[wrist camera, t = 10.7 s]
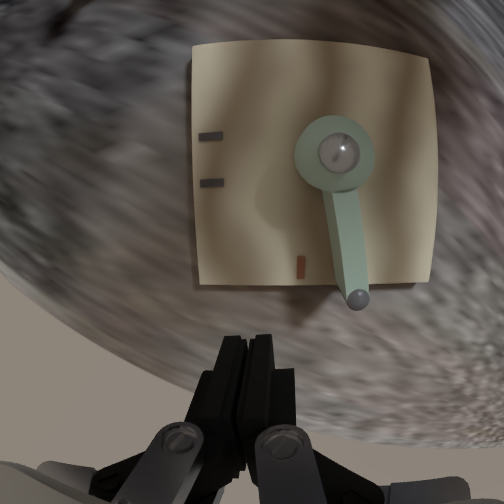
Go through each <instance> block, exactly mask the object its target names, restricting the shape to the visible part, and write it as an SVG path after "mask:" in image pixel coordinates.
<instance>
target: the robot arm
mask: <svg viewBox="0 0 504 504" xmlns="http://www.w3.org/2000/svg"><path fill="white" fill-rule="evenodd" d="M246 463H247V465H248V469H249V473H250V476H251V480H252V482H253V483H254V484H255V485H256V486H257V487H258V490H259V499H260V504H504V502H503V501H500V500H496V499H483V498H482V499H471V496H470V488H469V485H468V483H467V482H466V481H465V480H464V479H463V478H460V477H457V476H456V477H445V478H438V479H430V480H422V481H412V482H402V483H401V482H400V483H391V484H390V486H377V485H376V484H375V483H373V482H371V481H369V480H367V479H365V478H363V477H361V476H359V475H358V474H356V473H354V472H352V471H350V470H348V469H347V468H345V467H343V466H341V465H339V464H338V463H336V462H334V461H332V460H331V459H329V458H327V457H326V456H324V455H322V454H321V453H319V452H317V451H316V450H314V449H312V445H311V442H310V439H309V436H308V435H307V433H306V432H305V431H304V430H303V429H301V428H299V427H297V426H296V403H295V377H294V368H289V369H275V363H274V353H273V342H272V335H271V334H262V335H256V337H255V339H250V343H249V348H248V346H247V341H246V339H241V336H240V335H239V336H224V339H223V342H222V345H221V348H220V351H219V354H218V357H217V360H216V363H215V366H214V369H213V371H210V370H205V371H203V373H202V375H201V377H200V380H199V383H198V385H197V388H196V391H195V393H194V396H193V399H192V401H191V404H190V407H189V410H188V412H187V415H186V418H185V420H184V422H175V423H171V424H169V425H167V426H165V427H163V428H162V429H161V430H160V431H159V432H158V433H157V434H156V436H155V437H154V439H153V440H152V442H151V444H150V445H149V446H148V448H147V450H146V451H144V452H142V453H139V454H137V455H135V456H132V457H130V458H127V459H125V460H123V461H120V462H118V463H115V464H112V465H110V466H107V467H105V468H103V469H101V470H99V471H96V470H95V468H91V467H84V466H77V465H71V464H65V463H60V462H55V461H46V462H43V463H42V464H40V465H39V466H38V468H37V469H36V470H35V469H32V468H30V467H27V466H24V465H21V464H18V463H13V462H7V461H0V504H219V503H220V500H221V498H222V495H223V493H224V488H225V485H227V484H229V483H230V482H232V478H239V472H240V471H245V469H246Z"/></svg>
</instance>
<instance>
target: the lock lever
mask: <svg viewBox="0 0 504 504" xmlns="http://www.w3.org/2000/svg"><path fill="white" fill-rule="evenodd" d="M293 158H294V164H295V168H296V170H297V172H298V174H299V175H300V176H301V178H302V179H303V180H304V181H305V182H306V183H308V184H309V185H311V186H313V187H315V188H318V189H321V190H322V195H323V200H324V206H325V212H326V218H327V224H328V230H329V236H330V243H331V250H332V257H333V264H334V271H335V279H336V283H337V285H338V287H339V289H340V291H341V293H342V295H343V297H344V299H345V301H346V303H347V305H348V307H349V308H350V309H352V310H354V311H359V310H362V309H364V308H365V307H366V306H367V304H368V302H369V284H368V272H367V261H366V251H365V242H364V233H363V226H362V218H361V211H360V204H359V198H358V192H357V188H359V187H360V186H361V185H363V184H364V183H365V182H366V181H367V179H368V178H369V176H370V175H371V173H372V170H373V167H374V162H375V152H374V146H373V143H372V141H371V138H370V137H369V135H368V133H367V132H366V131H365V130H364V128H363V127H362V126H360V125H359V124H358V123H357V122H355V121H353V120H351V119H349V118H347V117H344V116H338V115H329V116H324V117H321V118H319V119H317V120H315V121H313V122H312V123H311V124H310V125H308V126H307V128H306V129H305V130H304V131H303V133H302V135H301V136H300V138H299V139H298V141H297V143H296V145H295V148H294V154H293Z"/></svg>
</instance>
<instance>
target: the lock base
mask: <svg viewBox="0 0 504 504" xmlns="http://www.w3.org/2000/svg"><path fill="white" fill-rule="evenodd" d="M329 115H338V116H344V117H347V118H349V119H351V120H353V121H355V122H357V123H358V124H359V125H360V126H362V127H363V128H364V130H365V131H366V132H367V133H368V135H369V137H370V138H371V141H372V143H373V146H374V152H375V162H374V167H373V170H372V173H371V175H370V176H369V178H368V179H367V181H366V182H365V183H364V184H363V185H361V186H360V187H359V188H357V192H358V198H359V204H360V211H361V218H362V226H363V233H364V242H365V251H366V261H367V272H368V284H388V283H414V282H428V281H429V275H430V269H431V262H432V255H433V247H434V238H435V228H436V215H437V197H438V142H437V125H436V113H435V103H434V94H433V87H432V80H431V73H430V67H429V62H428V58H424V57H420V56H416V55H412V54H408V53H404V52H399V51H394V50H389V49H384V48H378V47H372V46H366V45H359V44H351V43H342V42H332V41H319V40H297V39H266V40H244V41H231V42H220V43H212V44H204V45H197V46H193V50H192V163H193V190H194V210H195V227H196V242H197V256H198V269H199V280H200V285H337V283H336V279H335V271H334V264H333V257H332V250H331V243H330V236H329V230H328V224H327V218H326V212H325V206H324V200H323V195H322V190H321V189H318V188H315V187H313V186H311V185H309V184H308V183H306V182H305V181H304V180H303V179H302V178H301V176H300V175H299V174H298V172H297V170H296V168H295V164H294V158H293V154H294V148H295V145H296V143H297V141H298V139H299V138H300V136H301V135H302V133H303V131H304V130H305V129H306V128H307V126H308V125H310V124H311V123H312V122H313V121H315V120H317V119H319V118H321V117H324V116H329Z"/></svg>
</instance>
